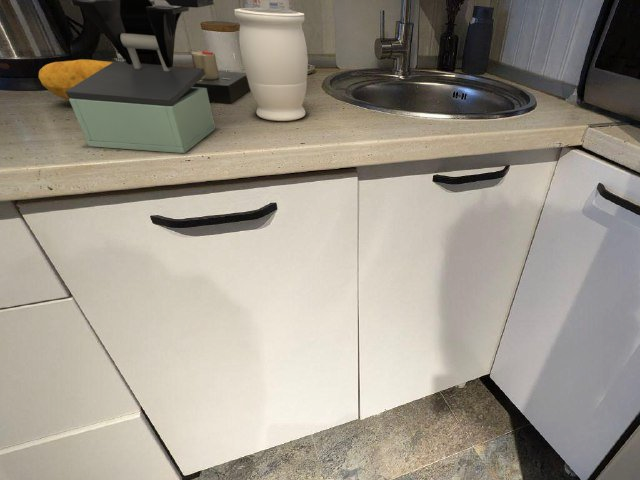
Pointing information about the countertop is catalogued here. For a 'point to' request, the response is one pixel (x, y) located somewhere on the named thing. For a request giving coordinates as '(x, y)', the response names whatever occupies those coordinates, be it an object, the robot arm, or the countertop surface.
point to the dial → (206, 64)
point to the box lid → (138, 78)
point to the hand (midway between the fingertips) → (150, 65)
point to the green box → (146, 123)
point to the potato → (68, 74)
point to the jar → (274, 60)
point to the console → (225, 87)
